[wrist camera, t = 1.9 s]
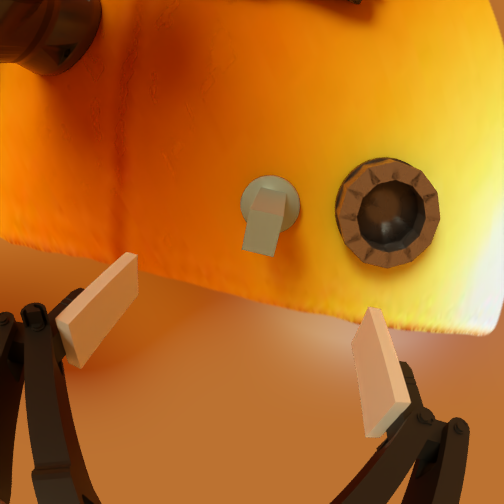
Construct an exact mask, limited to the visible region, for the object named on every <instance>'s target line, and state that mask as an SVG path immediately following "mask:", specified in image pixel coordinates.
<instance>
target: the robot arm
mask: <svg viewBox="0 0 504 504" xmlns="http://www.w3.org/2000/svg"><path fill="white" fill-rule="evenodd" d="M100 18H101V4H100V1H99V0H0V63H17V64H18V65H20V66H22V67H24V68H26V69H28V70H30V71H32V72H33V73H36V74H39V75H57V74H60V73H62V72H64V71H66V70H68V69H69V68H70V67H72V66H73V65H74V64H75V63H76V62H77V61H78V60H79V59H80V58H81V57H82V56H83V54H84V53H85V52H86V50H87V49H88V47H89V46H90V44H91V42H92V41H93V39H94V37H95V34H96V32H97V29H98V26H99V23H100ZM137 296H138V255H136V254H133V253H129V252H125V253H124V254H123V255H122V256H121V257H120V258H119V259H118V260H116V261H115V262H114V263H113V264H112V265H111V266H110V267H109V268H108V269H107V270H105V271H104V272H103V273H102V274H101V275H100V276H99V277H98V278H97V279H95V280H94V281H93V282H92V283H91V284H90V285H89V286H88V287H87V288H86V289H82V288H78V289H76V290H74V291H72V292H71V293H70V294H69V295H68V296H67V297H66V298H65V299H63V300H62V301H61V303H59V304H58V305H57V306H56V307H55V308H54V309H53V310H52V311H51V312H50V313H49V314H48V315H47V311H46V308H45V306H44V305H43V304H41V303H31V304H28V305H27V306H25V307H24V308H23V309H22V310H21V313H20V314H21V317H22V320H23V323H21V322H16V321H15V318H14V315H13V314H12V313H9V312H2V313H0V504H9V503H10V496H11V485H12V483H11V482H12V462H13V449H14V440H15V431H16V423H17V417H18V411H19V405H20V399H21V394H22V389H23V384H24V380H25V398H26V411H27V419H28V428H29V435H30V442H31V448H32V454H33V459H34V465H35V469H34V470H33V471H32V482H33V486H34V490H35V494H36V497H37V501H38V504H101V502H100V500H99V498H98V496H97V495H96V493H95V491H94V489H93V486H92V484H91V481H90V479H89V476H88V472H87V469H86V466H85V463H84V460H83V456H82V453H81V449H80V446H79V442H78V438H77V435H76V430H75V426H74V422H73V418H72V413H71V408H70V404H69V398H68V393H67V387H66V380H65V374H64V368H63V362H62V359H63V357H64V356H65V355H66V357H67V360H68V363H70V364H72V365H74V366H76V367H78V368H82V367H83V366H84V364H85V363H86V361H87V360H88V359H89V357H90V356H91V355H92V353H93V352H94V351H95V349H96V348H97V347H98V345H99V344H100V343H101V342H102V340H103V339H104V338H105V336H106V335H107V334H108V332H109V331H110V330H111V329H112V327H113V326H114V325H115V323H116V322H117V321H118V320H119V318H120V317H121V316H122V315H123V313H124V312H125V311H126V310H127V308H128V307H129V306H130V304H131V303H132V302H133V301H134V299H135V298H136V297H137ZM351 345H352V350H353V356H354V362H355V368H356V373H357V380H358V386H359V393H360V400H361V407H362V414H363V422H364V430H365V437H375V438H378V437H379V438H380V437H381V436H382V435H383V434H384V433H385V432H387V439H386V440H385V441H384V442H383V443H382V444H381V445H380V446H379V447H378V448H377V451H376V452H375V454H374V455H373V456H372V457H371V458H370V460H369V461H368V462H367V463H366V465H365V466H364V467H363V468H362V469H361V471H360V472H359V473H358V474H357V475H356V476H355V477H354V479H353V480H352V481H351V482H350V483H349V484H348V485H347V486H346V487H345V488H344V490H343V491H342V492H341V493H340V494H339V495H338V496H337V497H336V498H335V499H334V500H333V501H332V502H331V503H330V504H386V503H387V502H388V500H389V499H390V498H391V496H392V495H393V494H394V492H395V491H396V489H397V488H398V487H399V485H400V484H401V482H402V481H403V479H404V478H405V476H406V474H407V473H408V471H409V470H410V468H411V467H412V465H413V463H414V462H415V464H414V468H413V471H412V474H411V477H410V480H409V483H408V486H407V489H406V492H405V495H404V497H403V500H402V503H401V504H459V500H460V495H461V491H462V485H463V480H464V474H465V467H466V460H467V454H468V445H469V434H470V431H469V426H468V424H467V423H466V422H465V421H464V420H463V419H461V418H457V417H456V418H452V419H451V420H450V421H449V422H448V423H446V422H442V421H438V420H436V419H435V416H434V415H433V413H432V412H431V411H430V410H429V409H427V408H425V407H423V404H422V400H421V397H420V394H419V391H418V387H417V385H416V381H415V379H414V375H413V372H412V369H411V368H410V367H409V365H408V364H407V363H406V362H401V361H399V360H398V357H397V354H396V351H395V348H394V345H393V342H392V339H391V337H390V334H389V331H388V328H387V325H386V322H385V320H384V317H383V314H382V311H381V309H378V308H373V307H368V309H367V311H366V313H365V316H364V318H363V320H362V322H361V324H360V326H359V329H358V331H357V333H356V335H355V337H354V339H353V341H352V343H351ZM415 460H416V461H415Z"/></svg>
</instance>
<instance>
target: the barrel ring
mask: <svg viewBox="0 0 504 504" xmlns="http://www.w3.org/2000/svg"><path fill="white" fill-rule="evenodd" d="M335 217H336V222H337V226H338V229H339V231H340V233H341V235H342V237H343V240H344V243H345V244H346V245H347V246H348V247H349V248H350V249H351V250H352V251H353V252H354V254H355V255H356V256H357V257H358V258H359V259H360V260H361V261H362V262H364V263H368V264H372V265H376V266H380V267H384V268H390V267H394V266H397V265H401V264H405V263H408V262H412V261H413V260H414V259H415V258H416V257H417V256H418V255H419V254H420V253H421V252H423V251H424V250H425V249H426V248H427V247H428V246H429V245H430V244H431V242H432V239H433V237H434V234H435V232H436V229H437V226H438V224H439V221H440V212H439V202H438V194H437V191H436V190H435V188H434V187H433V186H432V184H431V183H430V182H429V180H428V179H427V178H426V176H425V175H424V174H423V172H422V171H421V170H419V169H416V168H414V167H413V166H411V165H410V164H408V163H406V162H403V161H401V160H398V159H395V158H388V157H382V158H375V159H371V160H368V161H366V162H364V163H362V164H360V165H359V166H357V167H356V168H354V169H353V170H352V171H351V172H350V173H349V174H348V175H347V177H346V178H345V179H344V181H343V182H342V184H341V186H340V188H339V191H338V194H337V197H336V202H335Z"/></svg>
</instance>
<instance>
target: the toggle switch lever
mask: <svg viewBox="0 0 504 504" xmlns="http://www.w3.org/2000/svg"><path fill="white" fill-rule="evenodd" d="M299 210H300V201H299V196H298V193H297V191H296V189H295V188H294V186H293V185H292V184H291V183H290V182H289V181H287V180H286V179H284V178H282V177H279V176H275V175H265V176H261V177H259V178H257V179H255V180H253V181H252V182H251V183H250V184H249V185H248V186H247V188H246V189H245V191H244V192H243V195H242V198H241V212H242V215H243V217H244V219H245V221H246V222H247V226H246V231H245V236H244V241H243V246H242V250H246V251H250V252H254V253H259V254H263V255H267V256H271V257H274V253H275V249H276V245H277V241H278V237H279V233H280V232H283V231H285V230H287V229H288V228H289V227H291V226H292V225H293V224H294V222H295V221H296V219H297V217H298V214H299Z"/></svg>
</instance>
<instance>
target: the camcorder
mask: <svg viewBox="0 0 504 504" xmlns="http://www.w3.org/2000/svg"><path fill="white" fill-rule="evenodd" d="M348 1H350V2H352V3H354V4H360V3H361V1H362V0H348Z"/></svg>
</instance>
